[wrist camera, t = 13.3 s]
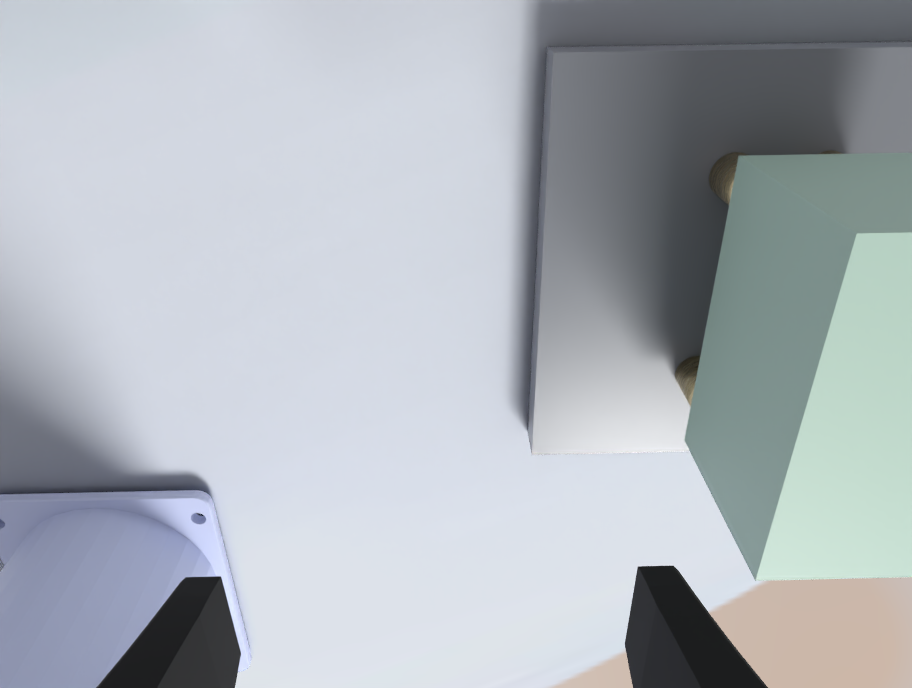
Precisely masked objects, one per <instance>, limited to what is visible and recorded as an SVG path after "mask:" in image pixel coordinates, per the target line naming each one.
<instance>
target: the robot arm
mask: <svg viewBox="0 0 912 688" xmlns="http://www.w3.org/2000/svg"><path fill="white" fill-rule="evenodd" d="M196 513H200V514H202V515H204V516H199V515H197V514H196ZM0 558H1V560H2V562H3V564H4V568H3V569H2V570H1V572H0V688H235V683H236V678H237V673H238V672H240V671H244V670H246V669H248V668H249V666H250V663H251V659H252V656H251V652H250V648H249V644H248V640H247V636H246V632H245V628H244V624H243V620H242V616H241V612H240V608H239V604H238V600H237V596H236V592H235V587H234V583H233V579H232V575H231V571H230V567H229V563H228V559H227V555H226V551H225V547H224V543H223V539H222V535H221V531H220V527H219V523H218V519H217V515H216V511H215V507H214V503H213V500H212V498H211V496H210V495H208V494H207V493H205V492H203V491H199V490H179V491H134V492H88V493H43V494H0ZM625 647H626V653H627V658H628V663H629V669H630V674H631V679H632V684H633V688H768V687H767V686H766V685H765V684H764V682H763V681H762V680H761V679H760V677H759V676H758V675H757V674H756V673H755V671H754V670H753V669H752V668H751V666H750V665H749V664H748V663H747V662H746V660H745V659H744V658H743V657H742V655H741V654H740V653H739V652H738V650H737V649H736V648H735V647H734V645H733V644H732V643H731V641H730V640H729V639H728V638H727V636H726V635H725V634H724V632H723V631H722V630H721V628H720V627H719V626H718V625H717V623H716V622H715V621H714V619H713V618H712V617H711V615H710V614H709V613H708V611H707V610H706V608H705V607H704V606H703V604H702V603H701V602H700V600H699V599H698V598H697V596H696V595H695V593H694V592H693V591H692V589H691V588H690V586H689V585H688V584H687V582H686V581H685V579H684V578H683V577H682V575H681V574H680V572H679V571H678V570H677V569H676V568H675V567H674V566H642V567H638V569H637V575H636V581H635V587H634V593H633V599H632V605H631V611H630V617H629V623H628V629H627V635H626V641H625Z"/></svg>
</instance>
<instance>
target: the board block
mask: <svg viewBox="0 0 912 688" xmlns="http://www.w3.org/2000/svg"><path fill="white" fill-rule="evenodd" d="M684 441H685V443H686V444H687V446H688V448H689V450H690V452H691V454H692V456H693V458H694V460H695V462H696V464H697V466H698V468H699V470H700V472H701V474H702V476H703V478H704V480H705V482H706V484H707V486H708V488H709V490H710V492H711V494H712V496H713V498H714V500H715V502H716V504H717V506H718V508H719V510H720V512H721V514H722V516H723V518H724V520H725V522H726V524H727V526H728V528H729V529H730V531H731V533H732V535H733V537H734V539H735V541H736V543H737V545H738V547H739V549H740V551H741V553H742V555H743V557H744V559H745V561H746V563H747V565H748V567H749V569H750V571H751V573H752V575H753V577H754V579H755V581H762V580H803V579H843V578H844V579H846V578H888V577H912V153H862V154H804V155H747V156H738V162H737V167H736V172H735V177H734V183H733V188H732V193H731V198H730V204H729V209H728V214H727V219H726V225H725V230H724V235H723V240H722V246H721V251H720V256H719V261H718V267H717V272H716V277H715V282H714V287H713V293H712V298H711V303H710V308H709V314H708V319H707V324H706V329H705V335H704V340H703V345H702V350H701V356H700V361H699V366H698V371H697V377H696V382H695V387H694V392H693V398H692V403H691V408H690V413H689V418H688V424H687V429H686V434H685V439H684Z"/></svg>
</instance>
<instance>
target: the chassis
mask: <svg viewBox="0 0 912 688" xmlns="http://www.w3.org/2000/svg"><path fill="white" fill-rule="evenodd" d="M862 153H912V41H904V42H838V43H773V44H708V45H642V46H577V47H547V54H546V74H545V94H544V114H543V135H542V155H541V175H540V195H539V216H538V236H537V256H536V276H535V297H534V317H533V337H532V357H531V378H530V398H529V418H528V436H529V442H530V447H531V453H532V455H549V454H595V453H641V452H688V451H690V450H689V448H688V446H687V444H686V443H685V441H684V439H685V434H686V429H687V424H688V418H689V413H690V408H691V403H692V398H693V392H694V387H695V382H696V377H697V371H698V366H699V361H700V356H701V350H702V345H703V340H704V335H705V329H706V324H707V319H708V314H709V308H710V303H711V298H712V293H713V287H714V282H715V277H716V272H717V267H718V261H719V256H720V251H721V246H722V240H723V235H724V230H725V225H726V219H727V214H728V209H729V204H730V198H731V193H732V188H733V183H734V177H735V172H736V167H737V162H738V156H747V155H804V154H862Z"/></svg>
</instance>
